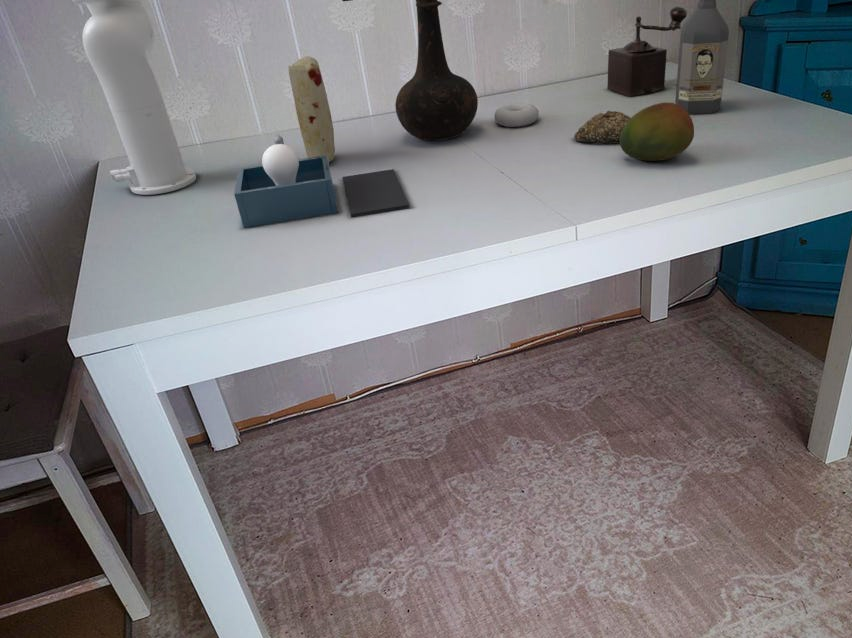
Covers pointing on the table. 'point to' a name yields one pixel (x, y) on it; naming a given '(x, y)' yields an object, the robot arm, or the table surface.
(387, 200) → the mat
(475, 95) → the dark brown vase
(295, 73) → the food model
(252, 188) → the sink
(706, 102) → the liquor
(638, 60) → the manual coffee grinder
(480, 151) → the table surface
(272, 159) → the lightbulb
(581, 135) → the bread roll
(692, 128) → the fruit
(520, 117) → the donut
